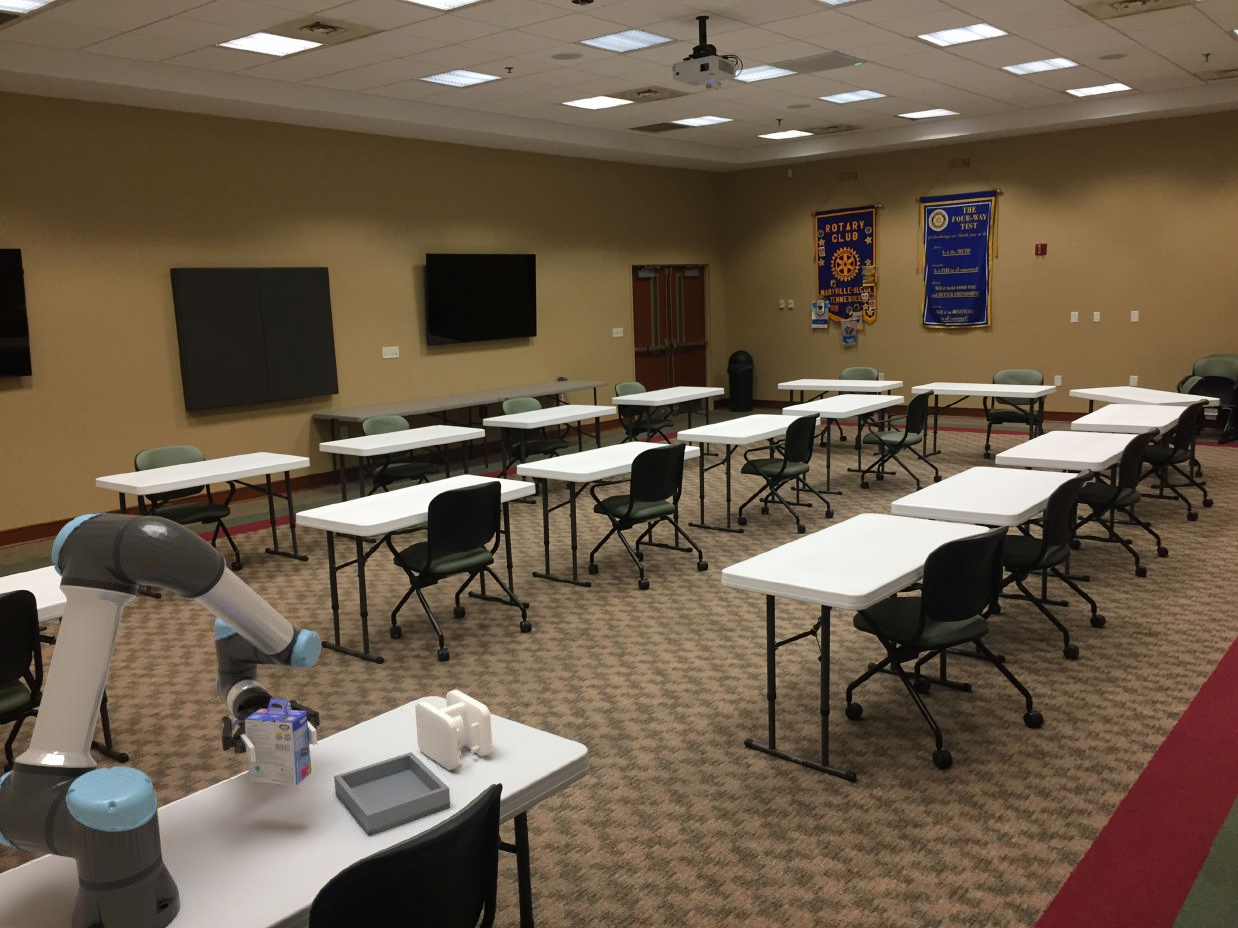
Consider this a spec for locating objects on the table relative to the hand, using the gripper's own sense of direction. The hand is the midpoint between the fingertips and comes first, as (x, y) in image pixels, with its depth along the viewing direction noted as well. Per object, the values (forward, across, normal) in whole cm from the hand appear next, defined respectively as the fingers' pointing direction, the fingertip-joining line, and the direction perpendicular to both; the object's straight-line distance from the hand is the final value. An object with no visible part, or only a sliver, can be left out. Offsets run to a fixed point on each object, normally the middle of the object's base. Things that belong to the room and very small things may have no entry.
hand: (284, 745), depth 168 cm
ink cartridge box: (-4, 0, -8) cm, 9 cm away
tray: (0, -19, -17) cm, 26 cm away
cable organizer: (-10, -37, -17) cm, 42 cm away
